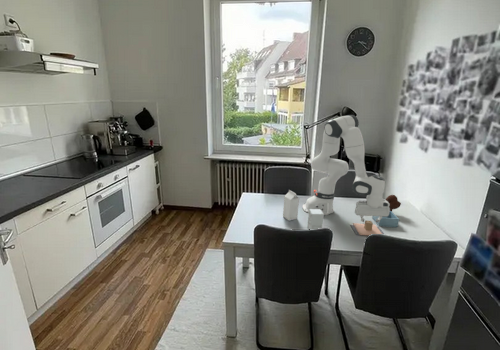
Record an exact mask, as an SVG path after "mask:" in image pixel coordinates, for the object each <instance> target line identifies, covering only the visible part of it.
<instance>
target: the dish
mask: <svg viewBox="0 0 500 350" xmlns="http://www.w3.org/2000/svg"><path fill="white" fill-rule="evenodd" d="M371 218H372V220H373V221H374V222H375V223H376V224H377V225H376V226H377V227H389V228H398V226H399V222H400V218H399V217H398V216H397V215H396V214H395V213H394V212H393V210H392V211H390V212H389V216H387V217H383V216H382V219H381V220H380V222H376V219H378V218H379V216H371Z"/></svg>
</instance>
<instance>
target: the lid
mask: <svg viewBox="0 0 500 350" xmlns="http://www.w3.org/2000/svg"><path fill="white" fill-rule="evenodd" d="M352 225H354V227H355V228H356V230H357V231H358V233H359V234H360V235H359V236H366V235H371V234H382V233H381V232H380V230H379V229H378V228H377V227H378V226H377V225H376V224H374V223H373V221H372V220H366V219H365V220H364V223H358V222H357V223H356V222H353V223H352ZM376 226H377V227H376Z"/></svg>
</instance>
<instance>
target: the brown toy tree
mask: <svg viewBox="0 0 500 350" xmlns="http://www.w3.org/2000/svg"><path fill="white" fill-rule="evenodd" d="M385 200H386V201H388V202H389V204H390V206H389V208H390V211H392V212H393V210H396V209H397V210H398V209H399V208H400V207H401V205H402V202H400V201H399V200H398V196H396V195H395V194H389V195H388V196H387V197H386V198H385Z"/></svg>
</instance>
